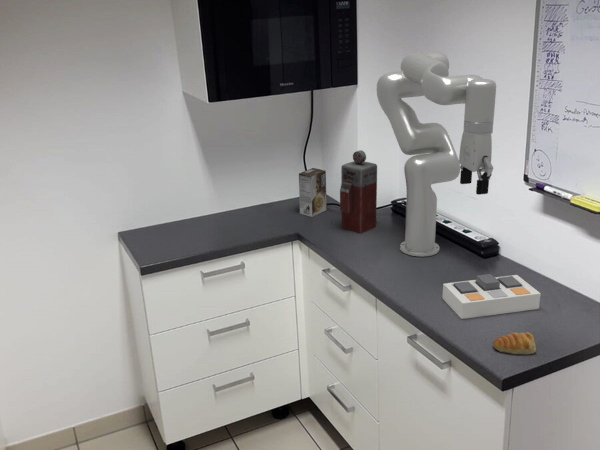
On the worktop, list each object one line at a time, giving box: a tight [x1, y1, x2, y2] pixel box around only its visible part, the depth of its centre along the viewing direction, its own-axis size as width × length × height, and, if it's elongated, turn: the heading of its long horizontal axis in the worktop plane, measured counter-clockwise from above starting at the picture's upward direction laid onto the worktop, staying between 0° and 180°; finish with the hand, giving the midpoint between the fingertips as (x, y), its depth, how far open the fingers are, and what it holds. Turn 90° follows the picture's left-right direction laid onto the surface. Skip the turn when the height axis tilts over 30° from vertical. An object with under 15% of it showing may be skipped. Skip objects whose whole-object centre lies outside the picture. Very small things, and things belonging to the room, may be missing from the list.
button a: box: [454, 280, 477, 294], centre depth 174 cm, size 5×4×4 cm
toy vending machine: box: [339, 149, 378, 235], centre depth 225 cm, size 9×11×28 cm
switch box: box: [442, 274, 542, 320], centre depth 174 cm, size 12×22×5 cm, turn 102°
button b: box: [475, 273, 500, 291], centre depth 175 cm, size 5×4×4 cm
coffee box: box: [298, 167, 327, 218], centre depth 244 cm, size 9×6×16 cm
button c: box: [498, 275, 522, 288], centre depth 176 cm, size 5×4×4 cm
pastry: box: [492, 331, 537, 355], centre depth 153 cm, size 9×7×4 cm
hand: (473, 188), depth 177 cm, fingers open, 9 cm apart
